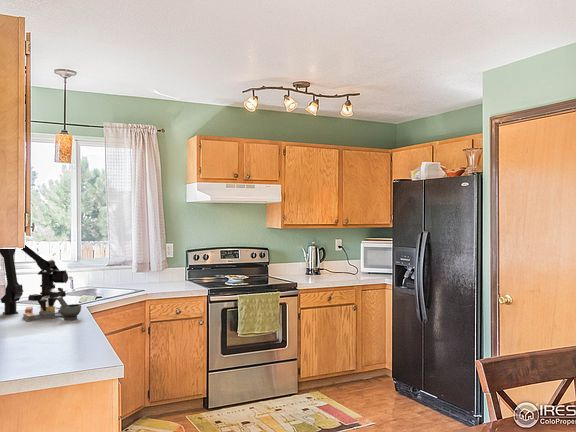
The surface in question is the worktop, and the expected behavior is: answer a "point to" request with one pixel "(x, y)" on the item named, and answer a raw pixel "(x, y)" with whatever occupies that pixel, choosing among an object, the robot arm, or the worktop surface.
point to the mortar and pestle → (69, 310)
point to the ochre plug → (49, 308)
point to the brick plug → (29, 310)
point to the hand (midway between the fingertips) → (47, 311)
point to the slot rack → (42, 315)
